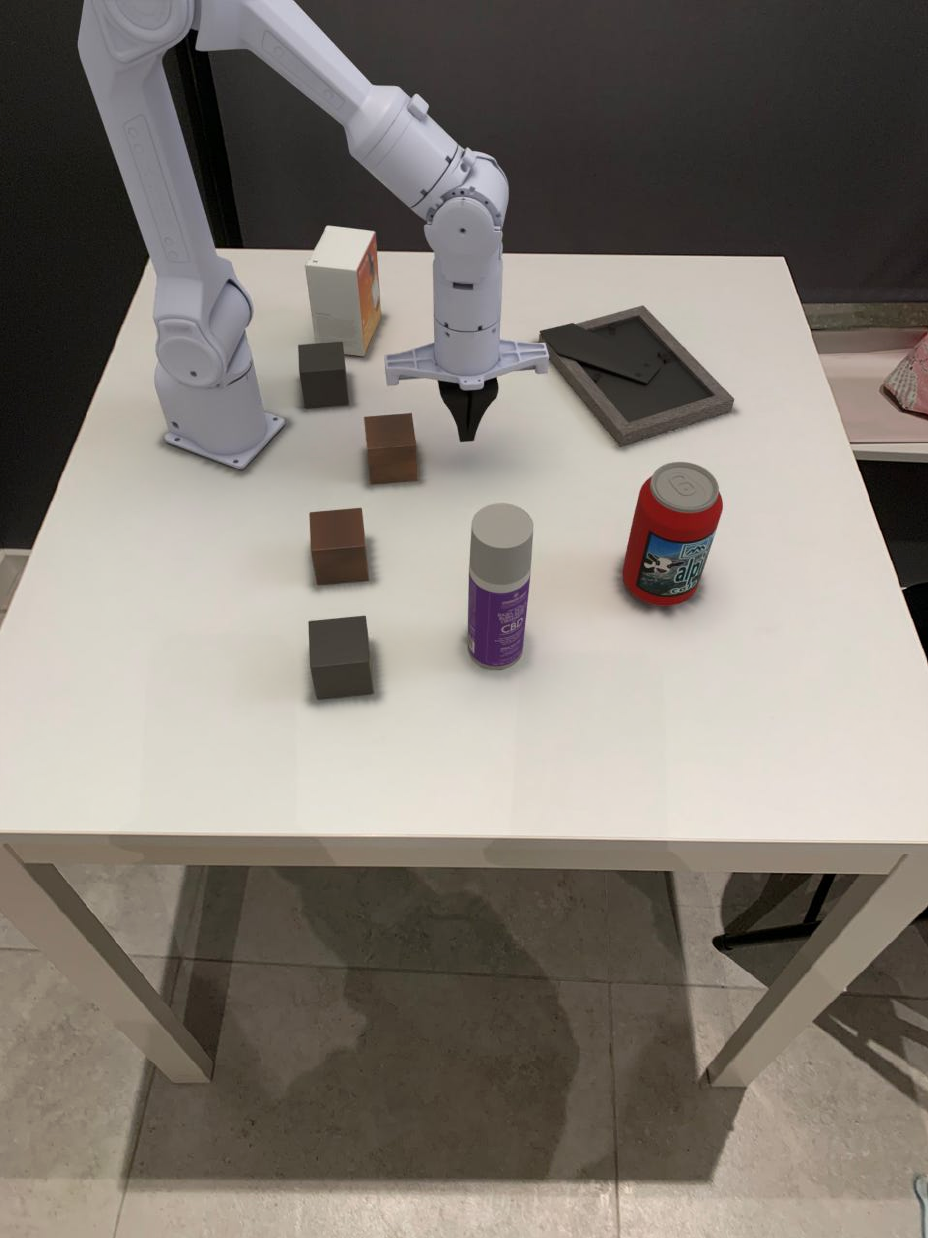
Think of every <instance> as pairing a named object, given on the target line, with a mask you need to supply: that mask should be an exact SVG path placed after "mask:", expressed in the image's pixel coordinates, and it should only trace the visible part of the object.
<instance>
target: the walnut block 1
mask: <svg viewBox="0 0 928 1238" xmlns="http://www.w3.org/2000/svg"><path fill="white" fill-rule="evenodd" d="M308 515H309V535H310V537H309V539H310V542H309V543H310V553H311V559H312V563H313V564H312V566H313V570H314V576H315V580H316V585H317V586H323V585H335V584H345V583H355V582H365V581H370V575H369V563H368V552H367V540H366V532H365V523H364V516H363V508H362V507H354V508H353V507H352V508H341V509H332V510H331V509H329V510H320V511H319V510H318V511H310V512H309V513H308Z"/></svg>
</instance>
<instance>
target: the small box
mask: <svg viewBox="0 0 928 1238" xmlns="http://www.w3.org/2000/svg"><path fill="white" fill-rule="evenodd" d="M377 245H378V244H377V232H376V231H375V230H368V229H361V228H352V227H344V226H343V227H342V226H334V225H326V226H325V228H324V230H323V233H322V234H321V236H320V238H319V240H318V242H317V244H316V245H315V247H314V249H313V251H312V253H311V254H310V257H309V258H308V259H307V261H306V262H305V264H304V269H305V278H306V284H307V290H308V291H307V292H308V298H309V307H310V311H311V312H310V313H311V321H312V328H313V334H314V341H315V342H314V343H315V344H316V343H330V342H343V348H344V355H350V356H358V357H365V356H366V353H367V350H368V348H369V345H370V343H371V340H372V338H373V336H374V334H375V332H376V330H377V327H378V325H379V322H380V320H381V318H382V307H381V306H382V305H381V294H380V293H381V292H380V277H379V262H378V261H379V260H378V246H377Z"/></svg>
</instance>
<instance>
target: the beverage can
mask: <svg viewBox="0 0 928 1238" xmlns="http://www.w3.org/2000/svg"><path fill="white" fill-rule="evenodd" d="M723 510H724V502H723V496H722V493H721V491H720V487H719V483H718V480H717V478H716V477H715V475H714V474H712V472H710V471H709V470H708V469H707V468H705V467H703V466H701V465H699V464H696V463H692V462H688V461H673V462H668V463H665V464H663V465H661V466H659V467H658V468H657V469H656V470H655V471H654V472H653V473H652V475H651V476H650V477H648V478H647V479H646V480H645V481H644V482H643V484H642V485H641V487H640V488H639V492H638V497H637V500H636V505H635V510H634V513H633V518H632V522H631V527H630V532H629V536H628V542H627V546H626V551H625V555H624V560H623V565H622V571H621V574H622V580H623V582H624V585H625V587H626V588H627V590H628V591H629V592H630V593H631V594H632V595H633V596H635V597H636V598H638V599H639V600H641V601H643V602H644V603H648V604H651V605H654V606H661V607H669V606H671V607H672V606H676V605H679V604H682V603H684V602H686V601H688V600H689V599H690V598H691V597H692V596H693V595H694V594H695V593H696V591H697V589H698V586H699V583H700V581H701V578H702V575H703V572H704V569H705V567H706V563H707V561H708V557H709V554H710V551H711V548H712V545H713V542H714V538H715V535H716V533H717V529H718V527H719V523H720V520H721V516H722V513H723Z"/></svg>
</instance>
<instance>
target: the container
mask: <svg viewBox="0 0 928 1238" xmlns="http://www.w3.org/2000/svg"><path fill="white" fill-rule="evenodd" d="M470 527H471V529H470V545H469V546H470V547H469V563H468V593H467V595H468V596H467V597H468V599H467V652H468V655H469V657H470V659H471V660H472V661H473V662H474V663H475V664H477V665H478V666H479V667H482V668H484V669H487V670H491V671H492V670H493V671H497V670H499V671H500V670H505V669H507V668H510V667H512V666H513V665H515V664H516V663H517V662H518V661H519V660H520V658H521V657H522V654H523V649H524V642H525V640H524V639H525V631H526V622H527V613H528V612H527V611H528V601H529V595H530V594H529V592H530V585H531V584H530V583H531V573H532V557H533V555H532V554H533V539H534V521H533V518H532V517H531V516H530V514H529V513H528V511H526V509H523V507H521V506H518V505H515V504H512V503H506V502H497V503H491V504H488V505H486V506H484V507H482V508H480V509H479V510H478V511H477V512H476V513H475V514H474V516H473V517H472V520H471V526H470Z"/></svg>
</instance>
